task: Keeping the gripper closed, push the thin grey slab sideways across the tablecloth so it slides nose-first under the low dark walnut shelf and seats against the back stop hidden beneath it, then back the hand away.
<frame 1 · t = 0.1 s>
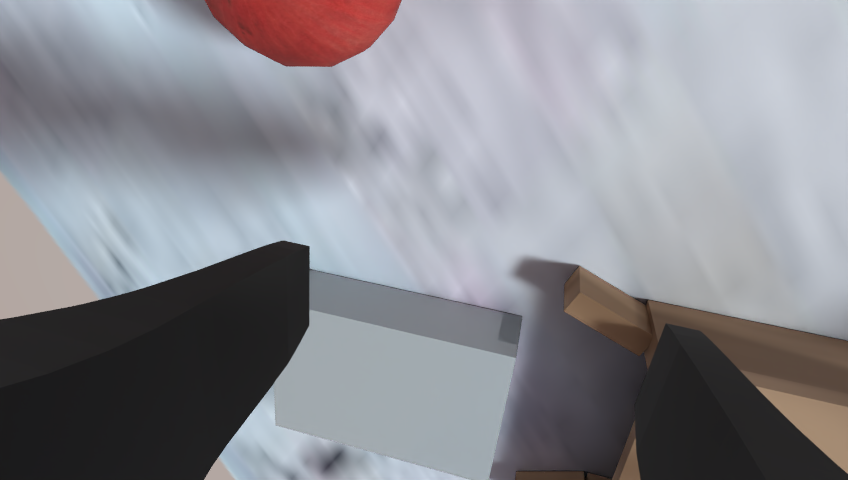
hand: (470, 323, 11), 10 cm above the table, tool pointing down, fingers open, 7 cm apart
grey slab: (401, 354, 25), on the table
walnut shelf: (721, 432, 22), on the table
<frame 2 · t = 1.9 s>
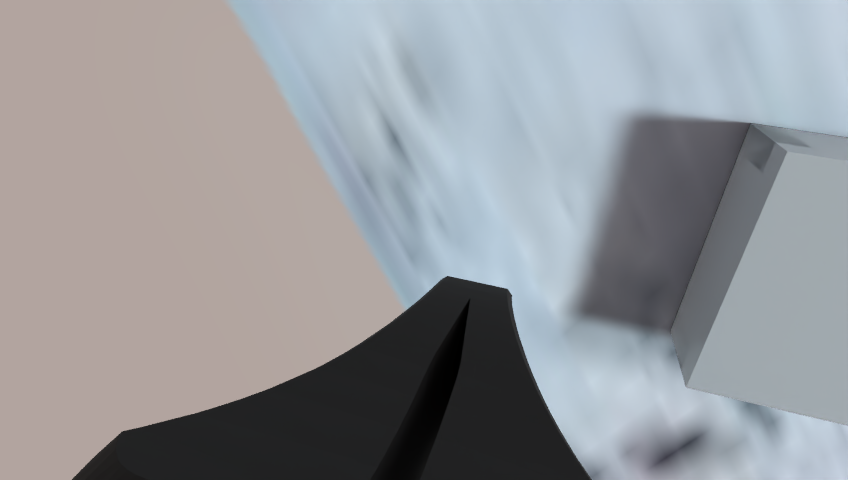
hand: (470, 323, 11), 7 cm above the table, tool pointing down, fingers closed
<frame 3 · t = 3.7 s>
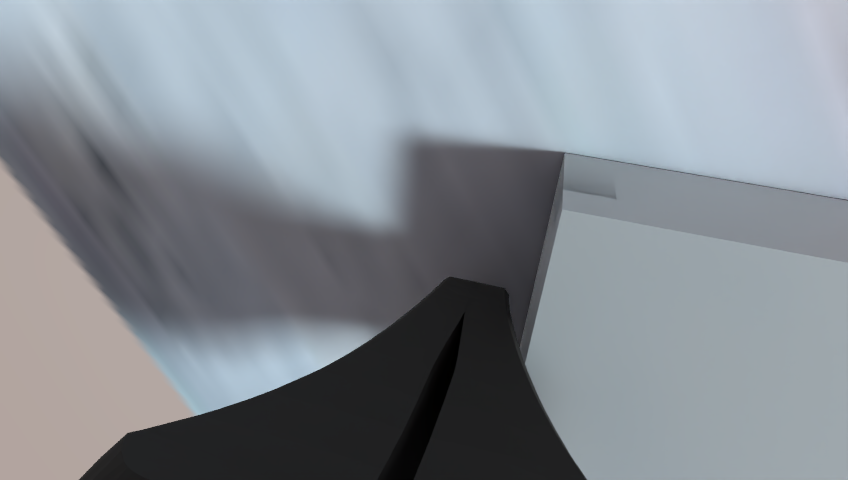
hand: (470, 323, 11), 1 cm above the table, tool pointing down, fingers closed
grey slab: (779, 364, 11), on the table, touching gripper
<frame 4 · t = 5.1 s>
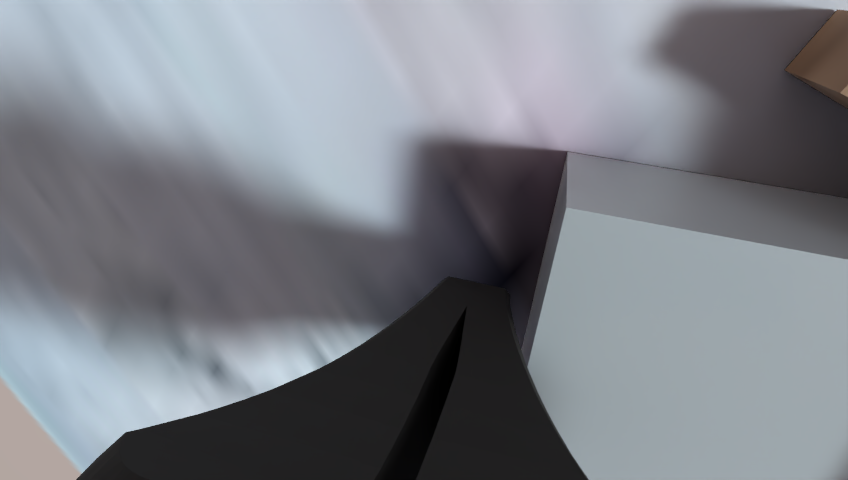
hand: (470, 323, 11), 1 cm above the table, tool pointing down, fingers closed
grey slab: (782, 363, 10), on the table, touching gripper
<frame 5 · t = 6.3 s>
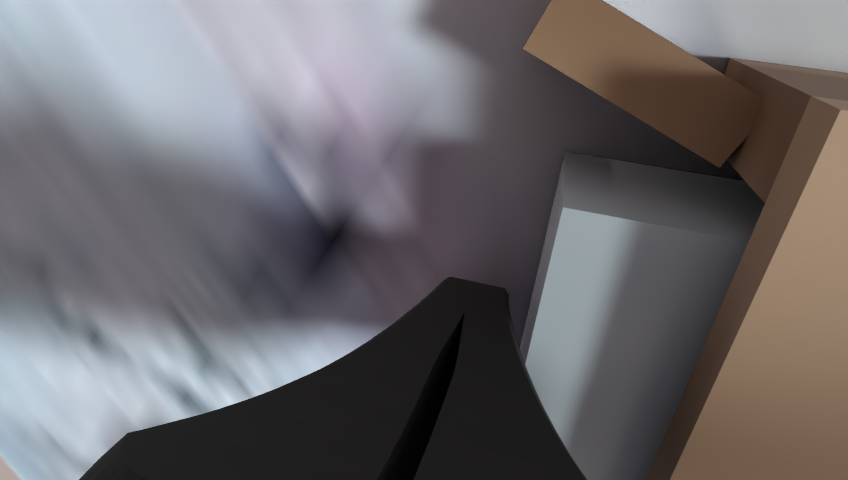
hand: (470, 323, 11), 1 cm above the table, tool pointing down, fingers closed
grey slab: (780, 362, 11), on the table, touching gripper
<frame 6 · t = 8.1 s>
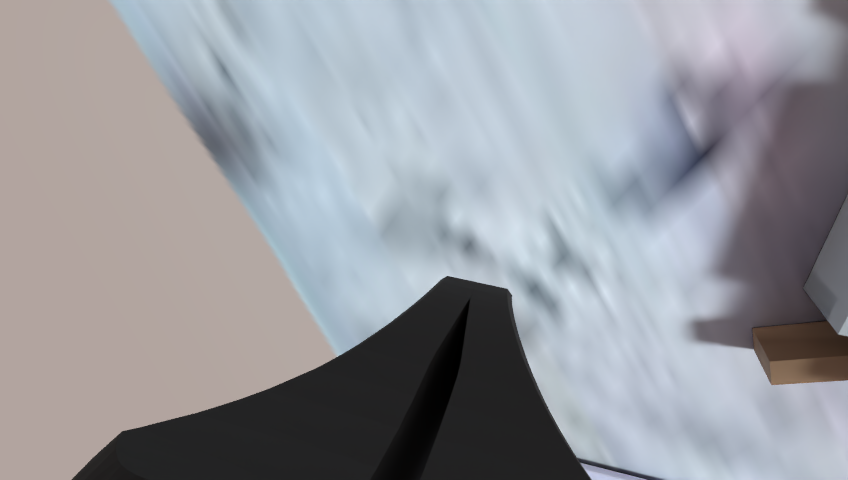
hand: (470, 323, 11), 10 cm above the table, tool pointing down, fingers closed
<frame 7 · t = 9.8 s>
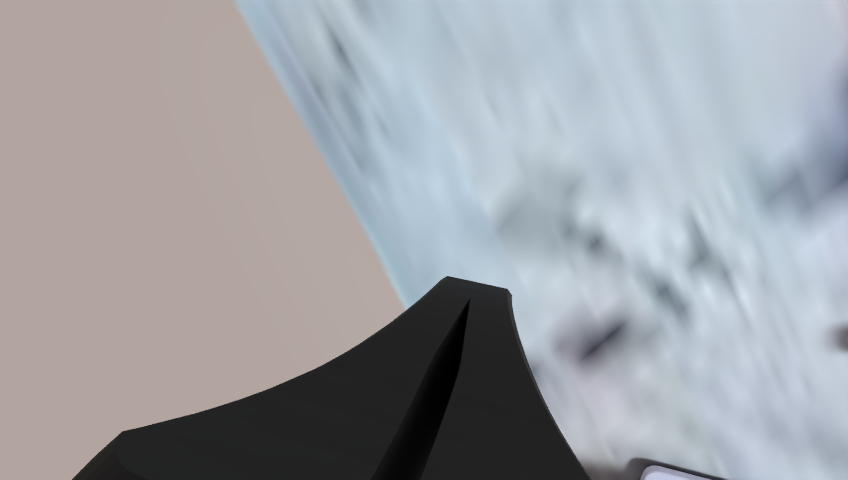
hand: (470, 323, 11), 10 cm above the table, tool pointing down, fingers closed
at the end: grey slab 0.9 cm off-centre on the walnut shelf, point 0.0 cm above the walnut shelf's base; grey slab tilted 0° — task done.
